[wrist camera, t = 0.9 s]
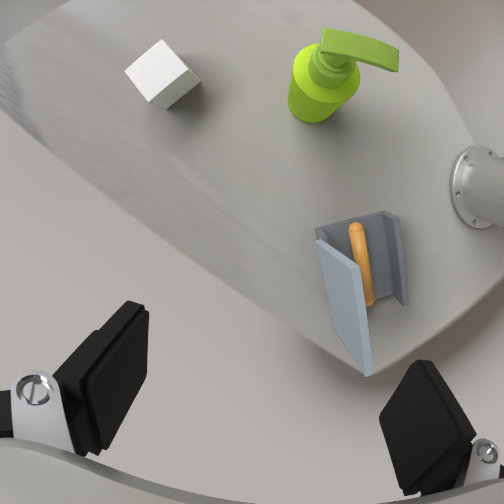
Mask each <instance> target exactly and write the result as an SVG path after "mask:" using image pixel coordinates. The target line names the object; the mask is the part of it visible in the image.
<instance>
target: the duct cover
mask: <svg viewBox="0 0 504 504" xmlns="http://www.w3.org/2000/svg"><path fill="white" fill-rule="evenodd" d="M314 243H315V247H316V251H317V255H318V260H319V264H320V268H321V273H322V277H323V282H324V286H325V291H326V295H327V300H328V305H329V310H330V315H331V320H332V325H333V329H334V331H335V332H336V333H337V335H338V336H339V338H340V339H341V341H342V342H343V344H344V345H345V347H346V348H347V350H348V351H349V353H350V354H351V356H352V357H353V359H354V360H355V362H356V363H357V365H358V366H359V368H360V369H361V371H362V372H363V374H364V375H365V377H367V376H369V375H372V374H373V370H372V358H371V347H370V338H369V329H368V320H367V313H366V305H365V298H364V291H363V285H362V279H361V273H360V267H359V265H357V264H356V263H355V262H353V261H352V260H350V259H349V258H347V257H346V256H345V255H343V254H342V253H340V252H339V251H337V250H336V249H334V248H333V247H332V246H330V245H329V244H327V243H326V242H324V241H323V240H321V239H319V240H316V241H314Z"/></svg>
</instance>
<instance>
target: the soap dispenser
mask: <svg viewBox="0 0 504 504" xmlns="http://www.w3.org/2000/svg"><path fill="white" fill-rule="evenodd" d="M356 61H359V62H363V63H367V64H370V65H374V66H377V67H380V68H382V69H385V70H387V71H390V72H398V61H399V50H398V49H396V48H394V47H392V46H390V45H388V44H385V43H383V42H381V41H378V40H375V39H372V38H369V37H366V36H362V35H358V34H354V33H350V32H345V31H340V30H334V29H328V28H323V31H322V40H321V43H318V44H313V45H310V46H308V47H306V48H304V49H303V50H302V51H300V52H299V54H298V55H297V56H296V58H295V61H294V64H293V70H292V76H291V83H290V89H289V95H288V105H289V108H290V110H291V112H292V113H293V114H294V115H295V116H296V117H297V118H298V119H300V120H302V121H304V122H307V123H318V122H321V121H323V120H325V119H326V118H328V117H329V116H330V115H331V114H332V113H333V112H334V111H335V110H337V109H338V108H339V107H340V106H341V105H342V104H343V103H345V102H346V101H347V100H348V99H349V98H350V97H351V96H353V95H354V93H355V92H356V91H357V89H358V87H359V84H360V71H359V68H358V65H357V63H356Z"/></svg>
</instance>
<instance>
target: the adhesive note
mask: <svg viewBox="0 0 504 504" xmlns="http://www.w3.org/2000/svg"><path fill="white" fill-rule="evenodd" d="M125 72H126V74H127V75H128V76H129V78H130V79H131V80H132V81H133V83H134V84H135V85H136V87H137V88H138V89H139V91H140V92H141V93H142V94H143V96H144V97H145V98H146V100H147V101H148V102H149V103H152V104H154V105H156V106H159V107H161V108H164V109H168V108H169V107H170V106H171V105H172V104H173V103H175V102H176V101H177V100H178V99H180V98H181V97H182V96H183V95H185V94H186V93H187V92H188V91H190V90H191V89H192V88H193V87H195V86H196V85H197V84H199V83H200V82H201V81H200V80H199V79H198V78H197V76H196V75H195V74H194V73H193V72H192V70H191V69H190V68H189V67H188V66H187V65H186V64H185V62H184V61H183V60H182V59H181V58H180V57H179V56H178V54H177V53H176V52H175V51H174V50H173V49H172V48H170V47H169V46H168V45H167V44H166V43H165V42H164V41H163V40H160V41H159V42H158V43H157V44H155V45H154V46H153V47H152V48H150V49H149V50H148V51H147V52H146V53H144V54H143V55H142V56H141V57H140V58H139V59H137V60H136V61H135V62H134V63H133V64H132V65H131V66H130V67H129V68H127V69H126V70H125Z"/></svg>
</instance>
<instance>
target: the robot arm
mask: <svg viewBox="0 0 504 504" xmlns="http://www.w3.org/2000/svg"><path fill="white" fill-rule="evenodd" d="M450 189H451V197H452V201H453V205H454V207H455V210H456V212H457V214H458V215H459V217H460V218H461V219H462V220H463V221H464V222H465V223H466V224H468V225H470V226H472V227H474V228H479V229H482V228H487V227H490V226H491V225H493V224H494V225H497V226H499V227H502V228H504V158H502V157H498V155H497V154H496V153H495V152H493V151H492V150H491V149H489V148H487V147H484V146H472V147H469V148H467V149H465V150H464V151H463V152H462V153H461V154H460V155H459V157H458V158H457V160H456V162H455V164H454V167H453V170H452V174H451V184H450ZM148 326H149V312H148V311H146V310H145V307H144V305H142V304H138V303H135V302H132V301H126V302H125V303H124V304H123V305H122V306H121V307H120V308H119V309H118V310H117V311H116V313H115V314H114V315H113V316H112V317H111V318H110V319H109V320H108V321H107V322H106V323H105V324H104V325H103V326H102V327H101V328H100V329H99V330H95V331H94V332H92V333H91V334H90V335H89V336H88V337H87V338H86V339H85V340H84V341H83V342H82V344H81V345H80V346H79V347H78V348H77V349H76V350H75V351H74V352H73V353H72V354H71V355H70V356H69V358H68V359H67V360H66V361H65V362H64V363H63V364H62V365H61V366H60V367H59V369H58V370H57V371H56V372H55V373H54V374H53V375H52V376H51V375H49V374H47V373H45V372H42V371H28V372H25V373H22V374H20V375H19V376H18V377H17V378H15V380H14V381H13V383H12V386H11V390H6V391H0V504H253V503H245V502H238V501H231V500H225V499H219V498H214V497H209V496H204V495H199V494H195V493H191V492H187V491H183V490H179V489H175V488H171V487H168V486H164V485H161V484H157V483H154V482H151V481H147V480H144V479H141V478H138V477H135V476H132V475H130V474H127V473H124V472H121V471H119V470H116V469H113V468H111V467H108V466H105V465H103V464H100V463H98V462H95V461H92V460H90V459H87V458H85V456H86V455H87V453H88V452H91V453H93V454H95V455H97V456H99V454H100V452H101V450H102V449H104V450H107V449H108V448H109V446H110V444H111V442H112V440H113V439H114V437H115V435H116V433H117V431H118V429H119V427H120V425H121V423H122V421H123V420H124V418H125V416H126V414H127V412H128V410H129V408H130V406H131V405H132V403H133V401H134V399H135V397H136V395H137V394H138V392H139V390H140V388H141V386H142V384H143V383H144V380H145V378H146V375H147V352H148V349H147V348H148ZM379 422H380V425H381V428H382V431H383V434H384V437H385V441H386V443H387V447H388V450H389V453H390V457H391V460H392V463H393V467H394V470H395V474H396V477H397V480H398V484H399V487H400V488H401V489H402V490H403V493H404V496H408V495H414V494H416V493H418V492H419V491H420V492H421V495H420V497H417V498H412V499H406V500H401V501H394V502H387V503H380V504H504V466H502V465H501V464H500V462H501V454H500V451H499V449H498V448H497V446H496V445H495V444H494V443H493V442H491V441H490V440H487V439H478V440H476V441H475V443H473V445H472V443H471V441H472V439H473V438H474V437H475V436H476V435H477V434H476V432H475V430H474V429H473V427H472V425H471V423H470V421H469V420H468V418H467V416H466V415H465V413H464V411H463V410H462V408H461V406H460V405H459V403H458V402H457V400H456V398H455V397H454V395H453V393H452V392H451V390H450V388H449V387H448V385H447V384H446V382H445V381H444V379H443V378H442V376H441V375H440V373H439V372H438V370H437V369H436V367H435V366H434V364H433V363H432V361H429V360H416V361H415V362H414V363H413V364H411V365H410V367H409V369H408V370H407V372H406V374H405V376H404V377H403V379H402V381H401V382H400V384H399V385H398V387H397V389H396V390H395V392H394V393H393V395H392V396H391V398H390V400H389V401H388V403H387V404H386V406H385V407H384V409H383V410H382V412H381V413H380V416H379Z"/></svg>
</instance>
